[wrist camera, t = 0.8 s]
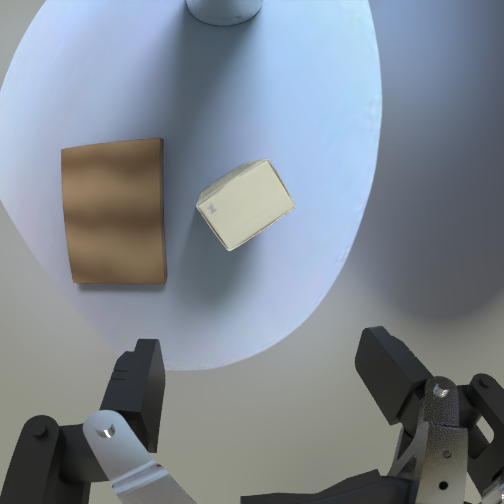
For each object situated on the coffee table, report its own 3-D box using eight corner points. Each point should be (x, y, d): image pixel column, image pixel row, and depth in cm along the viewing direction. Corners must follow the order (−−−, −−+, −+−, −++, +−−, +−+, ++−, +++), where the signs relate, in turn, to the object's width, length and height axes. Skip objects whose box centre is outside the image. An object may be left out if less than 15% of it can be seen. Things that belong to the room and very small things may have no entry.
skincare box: (221, 223, 33) (225, 256, 21) (199, 192, 31) (190, 207, 20) (268, 192, 32) (299, 207, 21) (248, 159, 31) (268, 156, 19)
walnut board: (69, 149, 27) (61, 149, 25) (163, 139, 29) (159, 138, 27) (79, 276, 32) (73, 282, 30) (167, 277, 34) (164, 283, 32)
